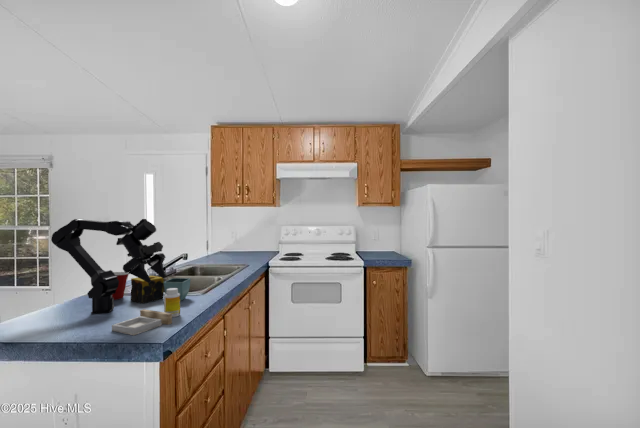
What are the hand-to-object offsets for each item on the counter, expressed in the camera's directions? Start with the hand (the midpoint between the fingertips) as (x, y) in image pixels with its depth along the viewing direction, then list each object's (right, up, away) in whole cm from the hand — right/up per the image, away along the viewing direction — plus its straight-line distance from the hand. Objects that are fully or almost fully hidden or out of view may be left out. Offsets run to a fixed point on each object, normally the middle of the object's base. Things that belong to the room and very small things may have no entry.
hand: (157, 279), depth 131 cm
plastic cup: (-30, -13, +24) cm, 41 cm away
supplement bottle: (+7, -13, -4) cm, 16 cm away
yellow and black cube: (-15, -13, +21) cm, 29 cm away
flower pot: (-1, -13, +20) cm, 24 cm away
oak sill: (+5, -13, -10) cm, 17 cm away
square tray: (+2, -13, -17) cm, 22 cm away
